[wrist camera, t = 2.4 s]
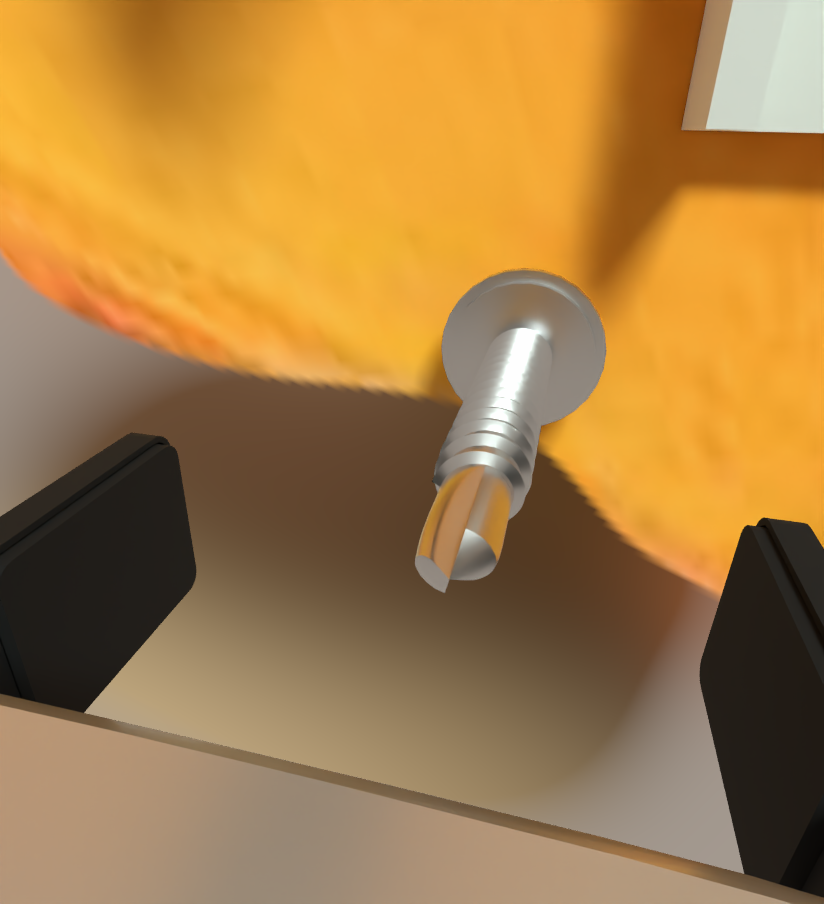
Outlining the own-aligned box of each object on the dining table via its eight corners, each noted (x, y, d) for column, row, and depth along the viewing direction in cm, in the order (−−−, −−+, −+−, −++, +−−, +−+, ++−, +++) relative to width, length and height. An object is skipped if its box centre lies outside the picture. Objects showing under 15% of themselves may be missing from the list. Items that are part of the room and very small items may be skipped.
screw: (628, 281, 19) (573, 420, 21) (475, 239, 19) (439, 378, 22) (683, 497, 8) (554, 739, 10) (319, 383, 8) (279, 637, 11)
